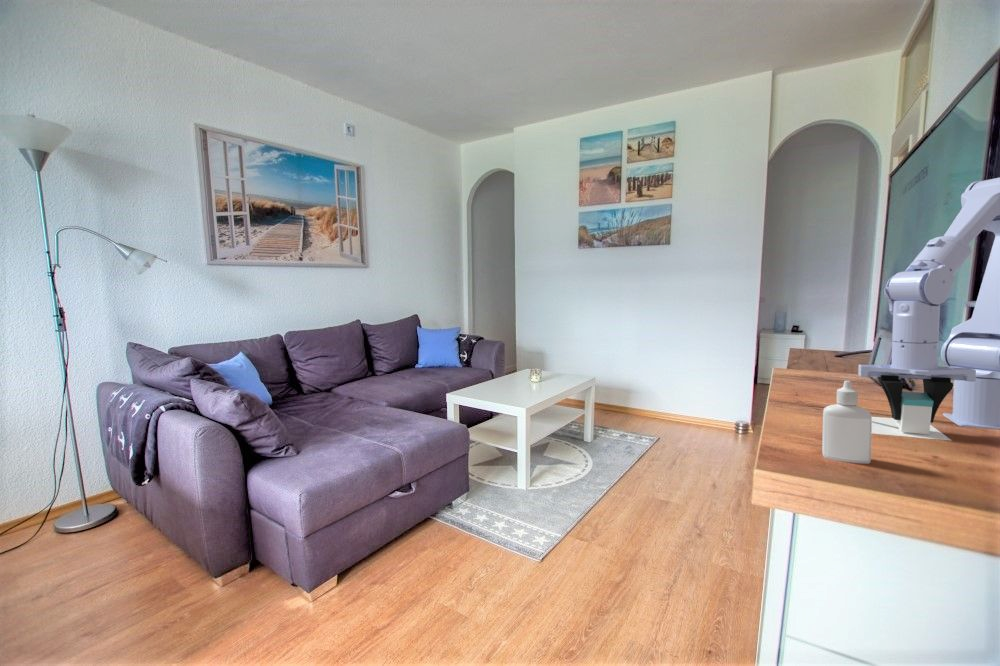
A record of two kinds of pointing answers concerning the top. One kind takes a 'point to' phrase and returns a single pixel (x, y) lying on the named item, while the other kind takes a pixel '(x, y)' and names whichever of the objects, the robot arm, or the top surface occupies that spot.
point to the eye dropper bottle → (847, 428)
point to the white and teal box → (915, 412)
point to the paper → (891, 428)
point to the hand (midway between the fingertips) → (911, 419)
